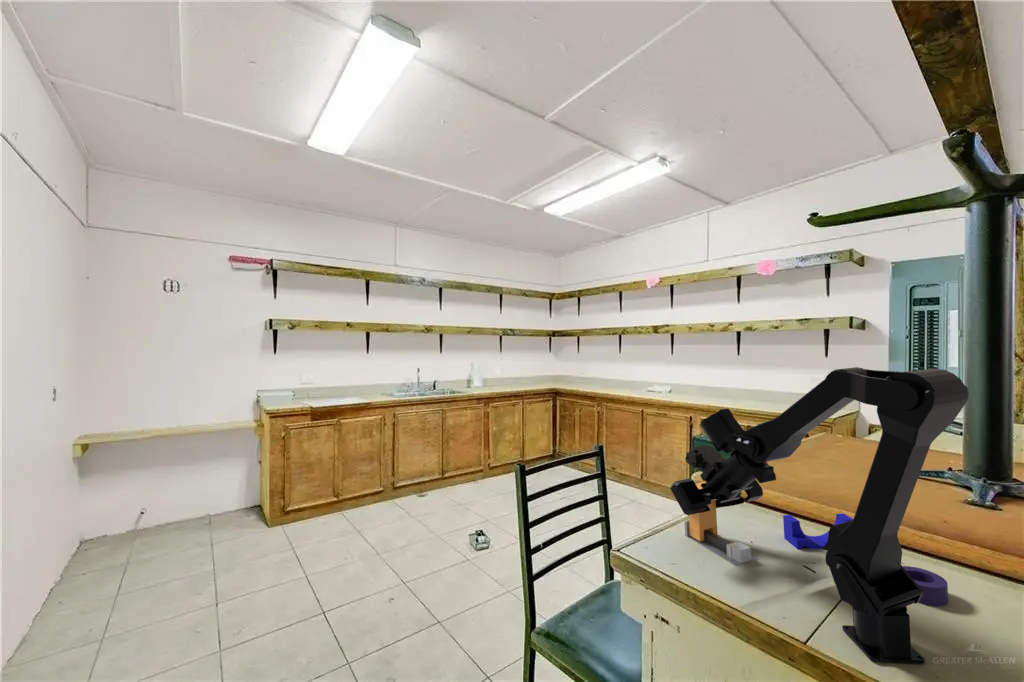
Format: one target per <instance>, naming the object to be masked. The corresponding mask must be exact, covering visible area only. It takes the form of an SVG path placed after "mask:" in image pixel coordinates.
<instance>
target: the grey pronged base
mask: <svg viewBox="0 0 1024 682" xmlns="http://www.w3.org/2000/svg"><path fill="white" fill-rule="evenodd" d="M684 536H685V537H687V538H688V539H690V540H692V541H693V542H695V543H697V544H698V545H701V546H702V547H703V548H705V549H706V550H708V551H710V552H712V553H714V554H715V555H717V556H718V557H720V558H722V559H724V560H726V561H727V562H728V563H730V564H732V565H733V566H736V567H739V566H741V565H745V564H748V563H751V562H756V561H758V560H759V558H757V557H755V556H753V555H752V549H751V547H750V546H748V545H746V544H745V543H742V542H739V541H734V542H730V541H728V540H727V539H725V538H723V537H721V536H719V534H718V535H716V534H714V533H712V532H710V531H708V530H707V529H705V530H704V541H698V540H697V539H695V538H693V537H692V536H690V531H689V519H686V520H684Z"/></svg>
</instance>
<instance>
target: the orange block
mask: <svg viewBox="0 0 1024 682" xmlns="http://www.w3.org/2000/svg"><path fill="white" fill-rule="evenodd" d="M702 483H706V481H703V482H697V483H695V484H696V485H697V487H698V488H699V489H703V488H702V487H701V484H702ZM708 507H709V509H710V511H707V512H703V513H696V514H692V515H688V520H689V531H690V536H692V537H693V538H695V539H697V540H698V541H704V530H705V529H707V530H708V531H710V532H712V533H714V534H716V535H718V536H719V534H718V522H717V521H718V519H717V518H718V517H717V508H716V500H712V501H711V504H710V505H708Z"/></svg>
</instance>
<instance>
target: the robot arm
mask: <svg viewBox="0 0 1024 682" xmlns="http://www.w3.org/2000/svg"><path fill="white" fill-rule="evenodd" d="M968 399H969V388H968V386H966V385H965V384H964V382H963V380H962V379H961V378H960V377H958V375H956V374H955V373H953V372H951V371H948V370H947V369H941V368H927V369H926V368H925V369H920V370H919V369H918V370H912V371H911V370H908V371H894V370H879V369H878V370H877V369H867V368H863V367H857V366H855V367H845V368H837V369H833V370H832V371H831V372H829V373H828V374H827V375H826V377H825V378H824V379H823V380H822V381H821V382H820V383H818V384H817V385H815V386H814V387H813V388H811V389H810V390H809V391H808V392H807V393H805V394H804V395H803V396H802V397H801V398H799V399H798V400H797V401H795V402H794V403H793V404H792V405H790V406H789V407H788V408H787V409H786V410H784V411H783V412H781V413H780V414H779V415H778V416H777V417H774V418H772V419H770V420H767V421H764V422H761V423H759V424H757V425H755V426H752V427H750V428H748V429H747V430H744V429H743V427H742V426H741V425H740V423H739V422H738V420H737V419H736V418H735V416H734V415H733V412H732V411H731V410H730V408H722V409H721V408H720V409H718V411H717V412H715V413H712V414H710V415H709V416H707V417H706V418H703V419H702V420H701V422H700V424H699V425H700V427H701V429H702V431H703V432H704V434H705V435H706V436H707V438H708V439H709V440H710V442H711V444H712V446H711V445H709V444H708V445H700V446H694V447H693V448H690V449H689V450H688V452H686V456H685V458H684V459H685V462H686V463H687V464H688V465H689V466H690V467H691V468H692V469H698V470H699V471H700V472H701V474H700V475H699V476H700V478H701V480H702V481H703V482H706V483H702V482H701V483H702V484H701V487H702V488H703V489H699V488H698V487H697V485H696V484H697V483H696V482H695V480H694V479H691V478H685V479H681V480H675V481H674V482H673V483H672V484H671V486H670V490H671V492H672V494H673V497H674V498H675V500H676V501H677V503H678V506H679V507H680V509H681V510H682V511H681V512H682V513H683V514H685V515H687V516H689V515H692V514H696V513H703V512H707V511H710V509H709V507H708V505H710V504H711V501H712V500H716V509H720V508H726V507H732V506H738V505H742V504H744V503H745V500H746V501H747V502H748V503H750V502H752V501H757V500H759V499H761V498H763V495H764V492H763V491H764V489H763V487H762V486H761V485H760V484H764V483H768V482H775V481H776V480H777V474H776V473H775V469H774V466H772V465H770V464H769V463H768V462H772V461H773V462H774V461H778V460H783V459H787V458H789V457H791V456H792V455H793V454H794V453H795V451H796V450H797V449H798V448H799V447H800V446H801V444H802V441H803V438H804V437H805V436H806V435H807V434H808V433H809V432H811V431H812V430H813V429H815V428H816V427H818V426H819V425H821V424H823V423H824V422H825V421H826V420H828V419H829V418H831V417H832V416H833V415H835V414H836V413H838V412H839V411H841V410H842V409H844V408H845V407H847V406H848V405H850V404H851V403H852V402H854V401H856V402H859V403H862V404H864V405H870V406H875V407H876V413H877V417H878V420H879V423H880V428H881V429H882V431H881V437H880V438H879V441H878V444H877V448H876V451H875V453H874V456H873V460H872V463H871V465H870V469H869V470H868V471H869V472H868V474H867V478H866V481H865V483H864V486H863V489H862V492H861V495H860V499H859V502H858V505H857V507H856V510H855V513H854V516H853V518H852V519H853V520H851V521H847V522H844V523H840V524H836V525H834V524H833V525H831V526H830V528H829V529H828V531H829V534H828V541H827V543H826V545H824V546H823V547H822V548H823V549H822V550H824V551H826V552H825V556H824V557H825V558H824V559H825V564H826V566H828V568H829V570H830V573H831V575H832V579H833V581H834V585H835V587H836V590H837V592H838V595H839V598H840V599H841V600H842V601H843V602H845V603H847V604H848V605H849V606H850V607H851V609H852V610H851V611H852V623H853V625H846V624H845V625H842V626H841V628H842V631H843V632H844V633H845V634H846V636H848V637H849V638H850V640H852V641H853V643H854V644H855V645H856V646H857V647H858V648H859V649H860V650H861V651H862V653H863V654H865V656H866V657H867V658H868V659H869V660H871V661H872V662H877V663H878V662H879V663H880V662H881V663H882V662H884V663H901V664H902V663H903V664H904V663H905V664H925V663H926V659H925V657H924V656H923V655H922V654H921V653H919V651H918V650H916V649H915V648H914V647H913V646H912V643H911V641H912V639H911V638H912V637H911V621H910V620H911V618H910V614H908V606H911V605H914V604H916V605H917V604H920V603H919V601H920V599H921V597H922V595H923V590H922V589H921V588H920V587H919V585H918V584H917V583H916V582H915V581H914V579H913V578H912V577H911V576H910V575H909V574H908V572H907V571H906V570H905V569H904V568H903V566H904V565H902V558H903V557H902V556H903V550H902V547H901V543H900V541H899V537H898V535H899V534H898V533H899V530H900V527H901V524H902V522H903V519H904V517H905V514H906V511H907V509H908V505H909V503H910V501H911V498H912V496H913V493H914V490H915V487H916V484H917V482H918V479H919V477H920V474H921V471H922V469H923V466H924V464H925V461H926V458H927V456H928V453H929V450H930V448H931V445H932V444H933V442H934V441H935V440H936V439H937V438H939V436H940V435H941V434H942V433H944V431H945V430H946V429H947V428H948V427H949V426H950V425H951V424H953V422H954V421H955V419H956V418H957V416H958V415H959V413H961V411H962V409H963V408H964V407H965V405H966V403H967V402H968ZM713 446H714V447H713ZM719 452H724V453H725V454H729V455H728V456H727V457H726V458H725V457H724V455H722V454H721V453H719ZM743 491H744V492H745V494H746V495H747V496H746V497H745V500H744V498H743V497H742V495H743V494H742V492H743Z"/></svg>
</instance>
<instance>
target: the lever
mask: <svg viewBox="0 0 1024 682" xmlns="http://www.w3.org/2000/svg"><path fill="white" fill-rule="evenodd" d="M902 566H903V568H904V569H905V570H906V571H907V572H908V574H909V575H910V576H911V577H912V578H913V579H914V581H915V582H916V583H917V584H918V585H919V587H920V588H921V589H922V590H923V595H922V597H921V599H920V601H919V603H918V604H921V605H925V606H930V607H944V606H947V605H948V604H949V592H948V591H949V589H948V581H947V580H946V579H945V578H944V577H942V576H941V575H939V574H937V573H935V572H932V571H930V570H927V569H923V568H921V567H916V566H909V565H907V566H906V565H902Z"/></svg>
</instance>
